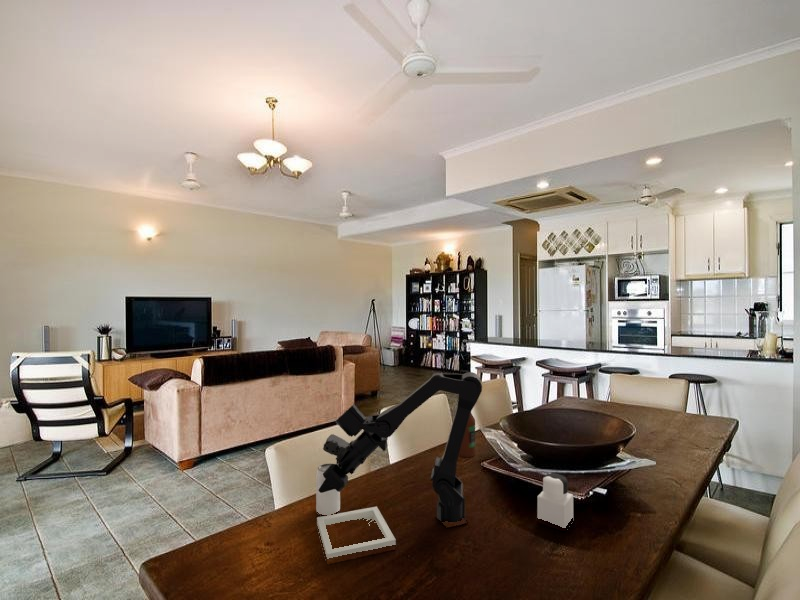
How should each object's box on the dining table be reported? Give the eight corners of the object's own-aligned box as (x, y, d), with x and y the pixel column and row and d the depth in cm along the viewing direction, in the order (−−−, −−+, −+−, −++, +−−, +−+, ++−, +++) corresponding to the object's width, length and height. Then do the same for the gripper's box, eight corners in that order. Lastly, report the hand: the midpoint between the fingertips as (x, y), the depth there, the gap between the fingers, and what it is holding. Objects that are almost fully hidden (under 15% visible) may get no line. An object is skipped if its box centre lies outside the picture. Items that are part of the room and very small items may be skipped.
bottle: (476, 458, 150) (476, 389, 150) (456, 457, 150) (456, 389, 150) (473, 450, 157) (473, 385, 157) (454, 450, 157) (454, 385, 157)
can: (312, 515, 111) (311, 470, 111) (323, 504, 118) (322, 461, 118) (333, 518, 109) (333, 473, 110) (343, 507, 116) (343, 464, 116)
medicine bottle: (546, 512, 112) (546, 468, 112) (573, 521, 108) (573, 475, 108) (536, 523, 107) (536, 477, 107) (564, 533, 102) (564, 485, 102)
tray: (376, 515, 111) (376, 506, 111) (395, 550, 96) (395, 539, 96) (317, 527, 106) (316, 517, 106) (327, 565, 91) (326, 554, 91)
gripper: (350, 416, 122) (315, 452, 124) (330, 438, 104) (289, 479, 106) (376, 444, 121) (341, 479, 123) (361, 471, 103) (319, 512, 104)
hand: (323, 486), depth 114 cm, fingers closed on can, 6 cm apart
